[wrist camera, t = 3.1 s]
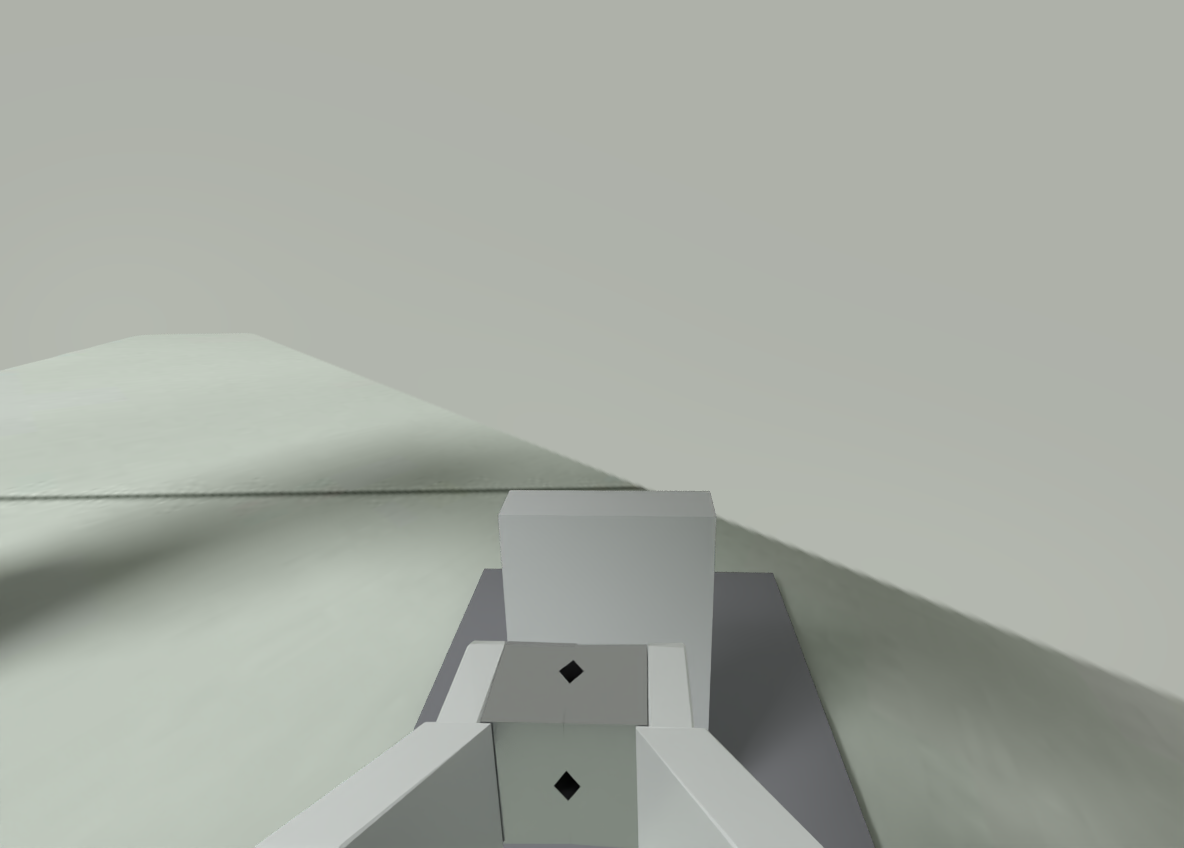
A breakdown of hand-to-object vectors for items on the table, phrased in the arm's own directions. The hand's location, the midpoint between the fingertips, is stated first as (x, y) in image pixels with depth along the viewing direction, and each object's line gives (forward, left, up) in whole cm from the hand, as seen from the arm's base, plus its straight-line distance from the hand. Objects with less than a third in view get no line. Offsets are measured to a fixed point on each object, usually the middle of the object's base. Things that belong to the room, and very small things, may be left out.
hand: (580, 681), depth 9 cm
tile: (-10, +7, -15) cm, 19 cm away
